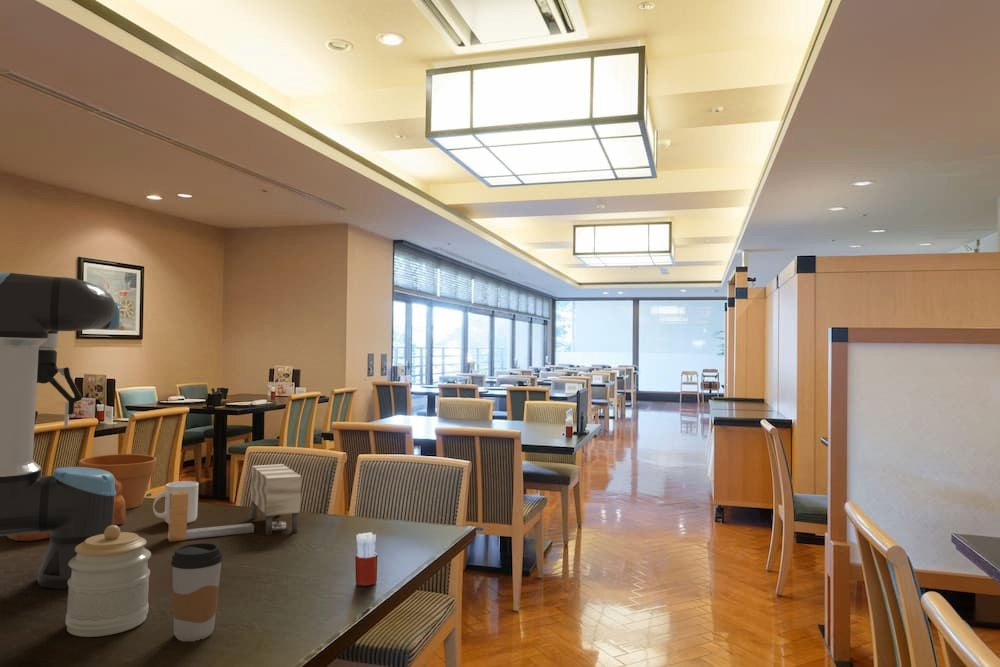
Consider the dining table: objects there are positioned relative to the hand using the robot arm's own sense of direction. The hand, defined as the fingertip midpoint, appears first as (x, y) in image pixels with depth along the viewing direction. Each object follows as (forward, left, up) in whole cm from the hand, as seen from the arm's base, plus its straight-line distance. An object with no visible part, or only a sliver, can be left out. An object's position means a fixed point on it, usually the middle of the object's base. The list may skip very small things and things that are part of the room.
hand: (36, 427), depth 178 cm
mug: (-6, -34, -28) cm, 45 cm away
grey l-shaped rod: (-25, -42, -28) cm, 56 cm away
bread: (-3, -8, -28) cm, 29 cm away
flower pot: (+22, -20, -28) cm, 41 cm away
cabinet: (-21, -59, -28) cm, 68 cm away
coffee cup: (-90, -30, -28) cm, 99 cm away
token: (-25, -59, -28) cm, 70 cm away
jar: (-78, -17, -28) cm, 85 cm away
